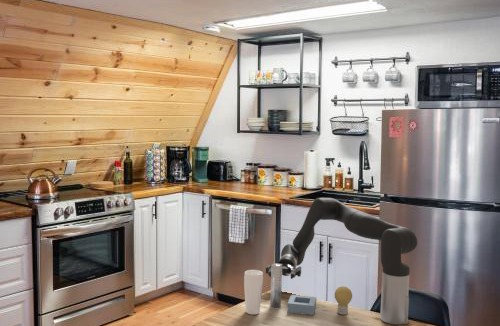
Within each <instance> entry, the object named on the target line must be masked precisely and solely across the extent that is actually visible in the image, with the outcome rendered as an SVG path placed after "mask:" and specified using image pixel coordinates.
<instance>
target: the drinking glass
mask: <svg viewBox="0 0 500 326" xmlns="http://www.w3.org/2000/svg"><path fill="white" fill-rule="evenodd" d="M243 275H244V276H243V288H244V301H245V303H244V306H245V308H244V312H245V313H246V314H248V315H251V316H252V315H253V316H254V315H258V314H259V313H260V312H261V301H262V295H263V294H262V291H263V285H264V284H263V283H264V277H263V276H264V272H263V271H261V270H259V269H248V270H245V271H244V274H243Z"/></svg>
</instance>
